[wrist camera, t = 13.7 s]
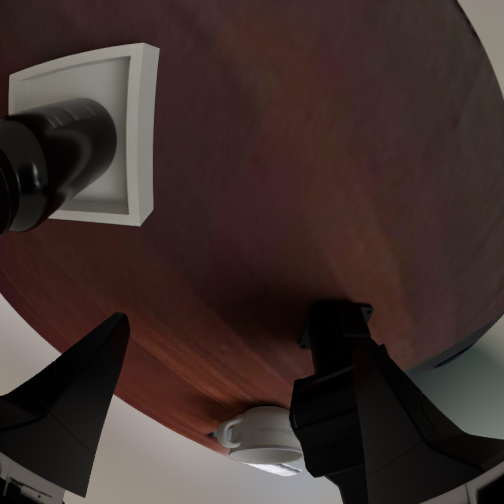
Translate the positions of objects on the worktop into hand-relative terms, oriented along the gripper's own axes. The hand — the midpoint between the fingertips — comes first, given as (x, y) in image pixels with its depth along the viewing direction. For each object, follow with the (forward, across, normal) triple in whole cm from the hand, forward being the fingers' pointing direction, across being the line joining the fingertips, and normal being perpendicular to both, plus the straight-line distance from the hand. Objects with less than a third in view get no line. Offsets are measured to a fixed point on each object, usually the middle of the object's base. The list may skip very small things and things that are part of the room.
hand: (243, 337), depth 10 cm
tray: (+13, +14, -5) cm, 20 cm away
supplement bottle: (+12, +13, -4) cm, 19 cm away
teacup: (+13, -5, +32) cm, 35 cm away
